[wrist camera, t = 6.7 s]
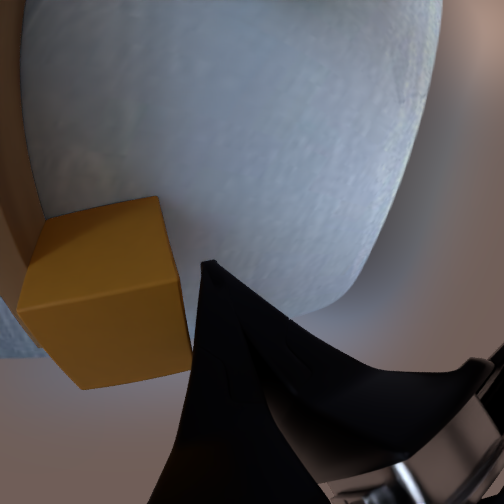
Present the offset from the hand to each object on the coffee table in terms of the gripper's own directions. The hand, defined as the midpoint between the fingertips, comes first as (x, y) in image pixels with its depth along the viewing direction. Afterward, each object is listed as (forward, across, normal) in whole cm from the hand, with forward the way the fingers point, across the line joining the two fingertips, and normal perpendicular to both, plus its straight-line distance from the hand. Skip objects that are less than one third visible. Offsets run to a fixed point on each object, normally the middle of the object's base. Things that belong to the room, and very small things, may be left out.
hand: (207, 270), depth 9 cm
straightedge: (+2, +6, -14) cm, 15 cm away
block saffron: (+2, +3, 0) cm, 4 cm away
